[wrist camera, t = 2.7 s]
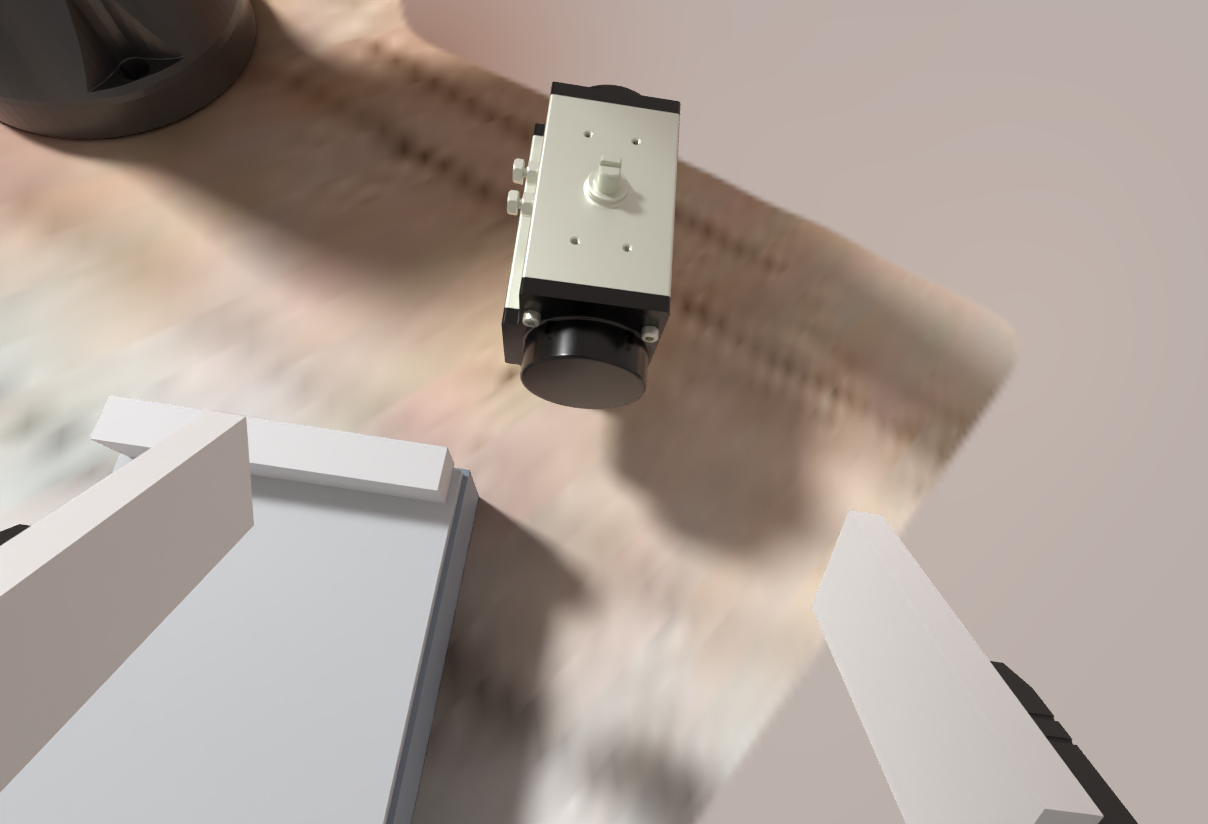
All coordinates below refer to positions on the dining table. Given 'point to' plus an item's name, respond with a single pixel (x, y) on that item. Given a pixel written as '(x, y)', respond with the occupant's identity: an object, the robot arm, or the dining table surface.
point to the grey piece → (277, 646)
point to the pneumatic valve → (593, 246)
